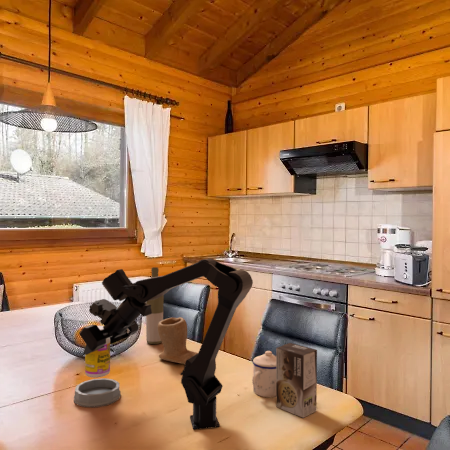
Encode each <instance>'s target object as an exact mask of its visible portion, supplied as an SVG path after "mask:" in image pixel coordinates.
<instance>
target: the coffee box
mask: <svg viewBox="0 0 450 450" xmlns="http://www.w3.org/2000/svg"><path fill="white" fill-rule="evenodd" d="M275 349H276V350H275V351H276V352H275V353H276V354H275V356H276V398H275V402H276V403H275V406H276V408H279V409H281V410H283V411H284V412H288V413H291V414H293V415H295V416H298V417H300V418H306V417H307V416H309V415H312V414H313V413H316V412H317V399H318V398H317V393H318V392H317V384H318V383H317V382H318V378H317V377H318V372H317V371H318V369H317V368H318V349H315V348H312V347H307V346H303V345H300V344H296V343H292V342H289V343H285V344H283V345H280V346H278V347H275Z"/></svg>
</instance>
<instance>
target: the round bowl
mask: <svg viewBox="0 0 450 450" xmlns="http://www.w3.org/2000/svg"><path fill="white" fill-rule="evenodd" d="M121 396H122V395H121V390H120V382H119V381H117V380H116V379H112V378H107V377H106V378H104V377H101V378H93V379H92V378H91V379H89V380H85V381H82V382H81V383H79V384H77V385H76V386H75V390H74V394H73V403H74V404H75V405H77V406H80V407H82V408H83V407H84V408H100V407H101V408H102V407H105V406H109V405H112V404H114V403H115V402H117V401H119V400H120V398H121Z"/></svg>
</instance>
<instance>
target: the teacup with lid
mask: <svg viewBox="0 0 450 450" xmlns="http://www.w3.org/2000/svg"><path fill="white" fill-rule="evenodd" d="M252 365H253V367H252V368H253V374H252V379H251V381H252V382H251V383H252V390H253V393H254V394H256V395H257V396H259V397H262V398H275V397H276V354H273V352H272V351H270V350H266V351H265V352H264V353H263V354H262V355H258V356H256V357H254V358H253V360H252Z"/></svg>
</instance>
